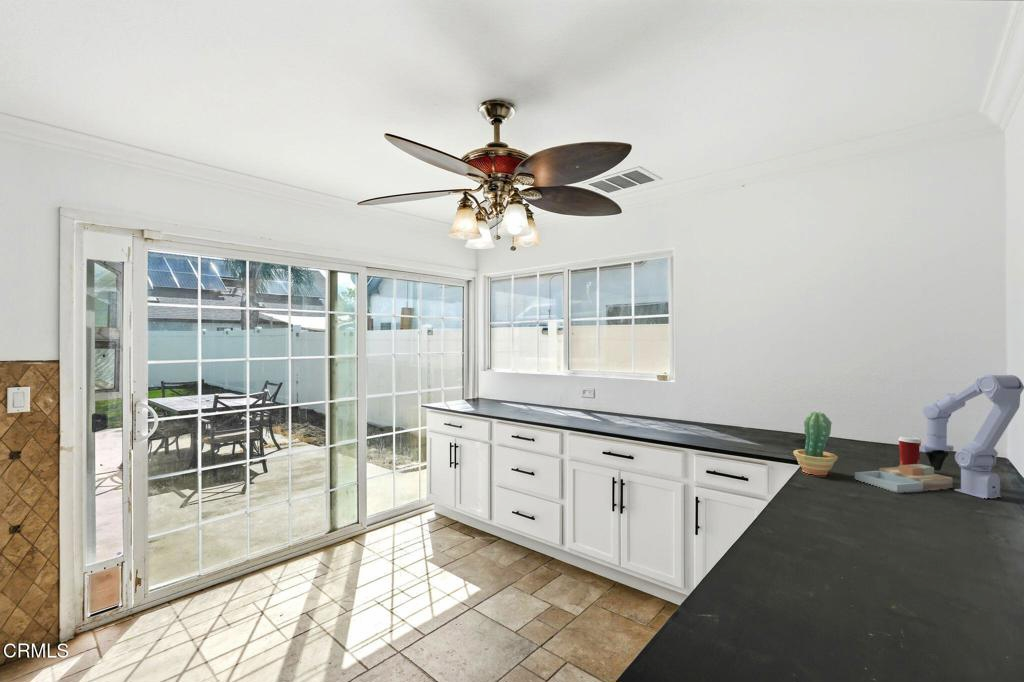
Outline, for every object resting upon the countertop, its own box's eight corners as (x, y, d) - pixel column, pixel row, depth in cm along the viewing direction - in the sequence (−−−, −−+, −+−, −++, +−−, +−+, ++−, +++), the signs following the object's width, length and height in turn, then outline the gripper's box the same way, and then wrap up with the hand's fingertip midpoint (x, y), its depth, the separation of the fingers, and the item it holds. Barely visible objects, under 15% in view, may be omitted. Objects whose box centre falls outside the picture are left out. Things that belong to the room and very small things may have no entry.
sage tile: (933, 473, 178) (934, 467, 178) (923, 474, 176) (923, 467, 176) (919, 470, 182) (919, 463, 182) (909, 470, 181) (909, 464, 181)
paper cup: (926, 473, 192) (927, 439, 192) (907, 473, 192) (908, 439, 192) (910, 468, 200) (911, 435, 200) (892, 468, 200) (892, 435, 200)
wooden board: (952, 488, 172) (952, 477, 172) (923, 491, 169) (923, 480, 169) (906, 476, 188) (906, 466, 188) (879, 478, 185) (879, 468, 185)
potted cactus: (847, 479, 183) (847, 415, 183) (807, 478, 183) (808, 415, 183) (821, 468, 199) (822, 409, 198) (785, 467, 199) (785, 409, 199)
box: (923, 491, 169) (923, 482, 169) (897, 493, 166) (897, 484, 166) (879, 478, 185) (879, 470, 185) (854, 480, 182) (854, 472, 182)
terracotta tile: (922, 474, 176) (922, 468, 176) (912, 475, 175) (912, 468, 175) (908, 471, 181) (908, 464, 181) (898, 471, 180) (898, 465, 180)
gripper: (939, 432, 187) (938, 466, 187) (911, 433, 183) (910, 467, 183) (959, 435, 180) (959, 470, 180) (931, 437, 176) (930, 472, 176)
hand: (936, 469), depth 181 cm, fingers closed
